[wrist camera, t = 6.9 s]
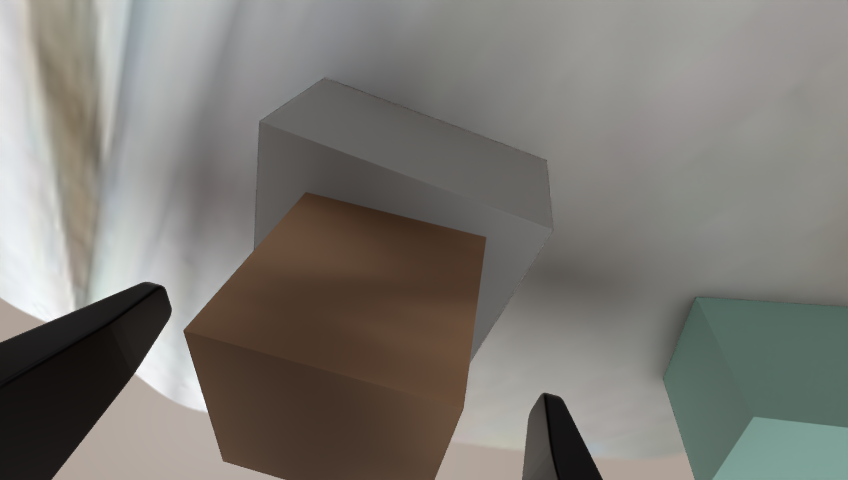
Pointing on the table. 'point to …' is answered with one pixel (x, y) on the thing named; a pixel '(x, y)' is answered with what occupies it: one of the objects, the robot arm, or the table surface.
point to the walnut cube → (341, 345)
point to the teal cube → (762, 390)
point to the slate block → (407, 179)
